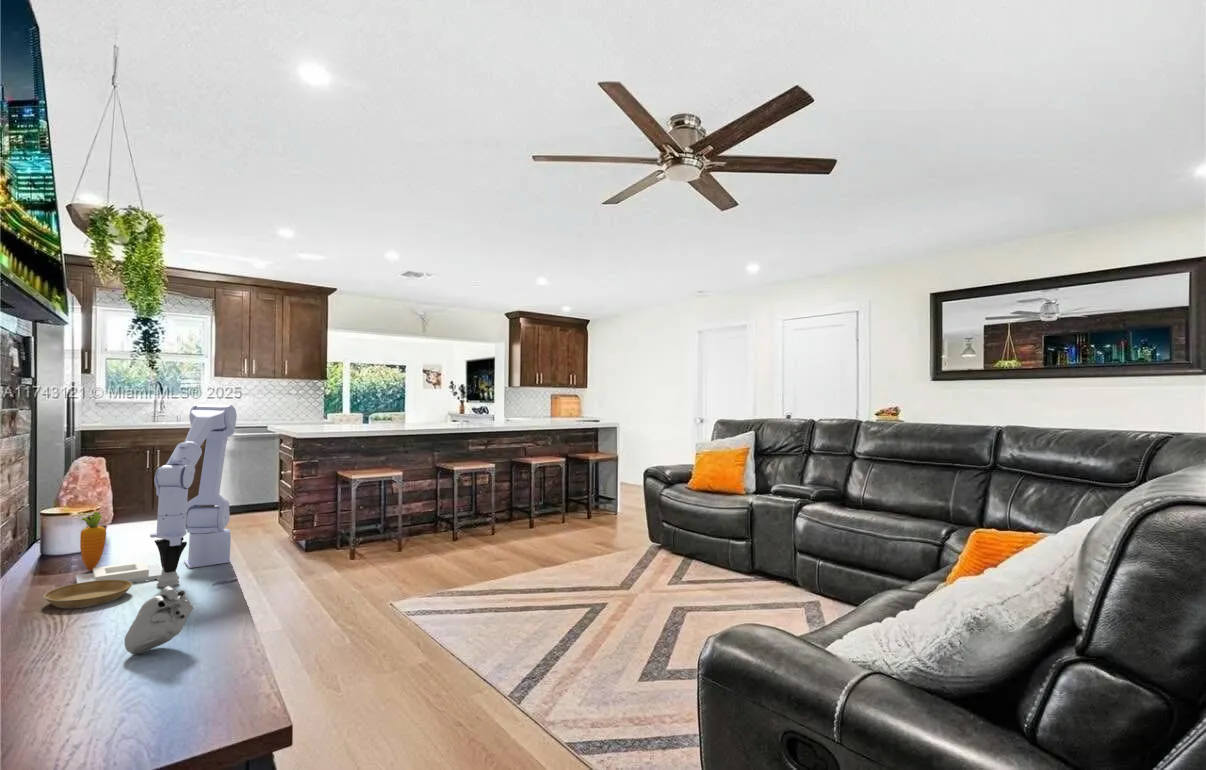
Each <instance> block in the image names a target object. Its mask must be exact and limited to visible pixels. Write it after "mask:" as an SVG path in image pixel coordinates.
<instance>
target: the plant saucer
mask: <svg viewBox="0 0 1206 770" xmlns="http://www.w3.org/2000/svg"><path fill="white" fill-rule="evenodd" d="M132 586H133V583H131V582H130V581H126V580H98V581H89V582H83V583H77V582H76V583H74V584H68V585H63V586H60V587H56V588H54V589H51V590H49V591H47V592H46V593H45V594H44V595H43V598H44V599H45V600H46V601H47V602H48V603H49V604H51V605H52V606H54V607H56V608H59V609H80V607H83V608H88V606H90V607H94V605H95V606H99V605H104V604H107V603H111V602H113V601H115V600H118V599H120V598H121V597H122V596H124V595H125V594H126V593H127V592H128V591H129V590H130V588H131V587H132Z"/></svg>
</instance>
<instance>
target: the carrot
mask: <svg viewBox="0 0 1206 770" xmlns="http://www.w3.org/2000/svg"><path fill="white" fill-rule="evenodd" d="M102 517H103V516H102V515H101V514H99V512H96V511H95V512H93V515H91V516H89V518H87V517H82V518H81V520H82V521H85V523H87V524H88V527H85V528H83V529H82V530H80V537H79V538H80V539H79V540H80V541H79V542H80V544H79V545H80V553H81V559H82V562H83V564H84V566H85V567H86V569H87V570H88V571H90V572H93V568H96V567H97V565H98V564H99V562H100V559H101V558H102V555H103V551H104V548H105V546H106V545H105V543H106V535H107V529H106V528H105V527H104V526H100V525H99V522H100V520H101V519H102Z"/></svg>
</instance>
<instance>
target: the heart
mask: <svg viewBox="0 0 1206 770" xmlns="http://www.w3.org/2000/svg"><path fill="white" fill-rule="evenodd" d="M194 609H195V607H194V606H193V604H192V603H191V602H190V599H188V597H186V591H185V590H183V589H182V590H179V591H176V589H175V588H174V586H172V587H170V586H168V587H164V588H163V589H162V591H161V592H160V594H159V595H155V596H154V597H152V598H150V599H148V600H146V601H144V603H143V604H142V606H141V608H140V609H139V610H138V613H137V615H136V617H135V619H134V620H133V621H132V624H131V625H130V627H129V629H128V631H127V633H126V634H125V637H124V648H125V650H126V651H127V653H130V654H131V655H138V654H141V653H144V652H147V651H150V650H152V649H155V648H157V647H159V646H161V645H164V644H166V643H168V642H170V641H171V640H172V639H174V638H175V637H177V636H178V635H179V634H180V633H181V632H182V630H183V628H184V627H185V624H186V622H187V619H188V617H189V616H190V613H191V612H192V611H193V610H194Z"/></svg>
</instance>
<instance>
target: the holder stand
mask: <svg viewBox="0 0 1206 770" xmlns="http://www.w3.org/2000/svg"><path fill="white" fill-rule="evenodd" d="M162 570H163V569H161V567H160V566H159V564H150V565H147V564H146V561H145V560H144V561H143V560H142V561H135V562H128V563H121V564H120V563H119V564H114V565H113V564H112V565H105V566H96V567H95V568H93V570H92V572H91V573H81V574H76V578H75V579H76V580H75V581H76V584H77V583H83V582H89V581H98V580H126V581H130V582H131V583H132V584H135V583H134V582H137V583H141V582H140V581H143V582H147V581H146V580H150V581H155V580H154V579H157V580H158V578H159V577H160V575H161V573H162Z"/></svg>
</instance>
